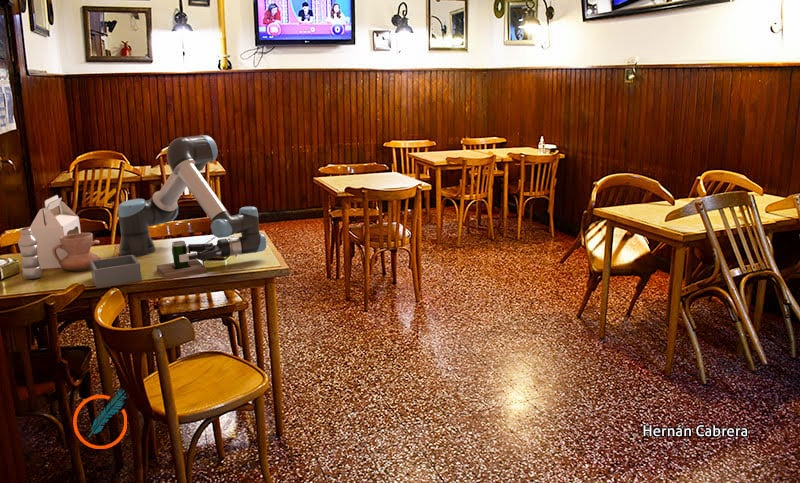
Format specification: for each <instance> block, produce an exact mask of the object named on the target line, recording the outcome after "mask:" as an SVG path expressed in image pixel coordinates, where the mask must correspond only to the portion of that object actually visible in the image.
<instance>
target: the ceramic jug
mask: <svg viewBox="0 0 800 483" xmlns="http://www.w3.org/2000/svg"><path fill="white" fill-rule="evenodd" d="M60 241H61V244H62V245H60V244H58V245H55V246H54V247H53V249H52V252H53V255H54V257H55V258H56V260H57V261H58V262H59V265H60V266H61V267H62V269H64V270H66V271H69V272H83V271H88V270H91V266H90V261H92V260H99V259H102V258H101V257H100V256H99V255H97V254H96V253H94V252H91V247H92V246H94V245H95V244H98V245H100V240H98V239H95V240H93V233H92V232H81V233H78V234H70V235H65V236H61V237H60ZM57 248H61V249H63V250H65V251H66V252H67V254H68V255H67V256H66V257H65V258H64V259H63V260H62V261H61V260H60V259H59V257H58V255H57V253H56V249H57Z"/></svg>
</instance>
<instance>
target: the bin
mask: <svg viewBox="0 0 800 483" xmlns="http://www.w3.org/2000/svg"><path fill="white" fill-rule="evenodd" d="M90 266H91V269H90V271H91V277H92V280H93V283H94V285H95V287H96V289H101V288H107V287H112V286H113V287H114V286H119V285H125V284H131V283H137V282H142V281H143V278H142V277H143V276H142V269H141V263H140V262H139V260H138V259H137V257H136V256H134V255H127V256H121V255H119V256H114V257H108V258H101V259H99V260H92V261H90Z"/></svg>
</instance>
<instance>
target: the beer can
mask: <svg viewBox="0 0 800 483" xmlns="http://www.w3.org/2000/svg"><path fill="white" fill-rule="evenodd" d="M171 244H172V245H171V252H172V251H173V255H172V258H173V263H174V269H175V270H176V269H182V268H189V267H188V261H186V262H180V260H179V255H184V254H188V253H187V248H186V246H187V243H186V241H184V240H178V241H177V240H176V241H172V243H171Z"/></svg>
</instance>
